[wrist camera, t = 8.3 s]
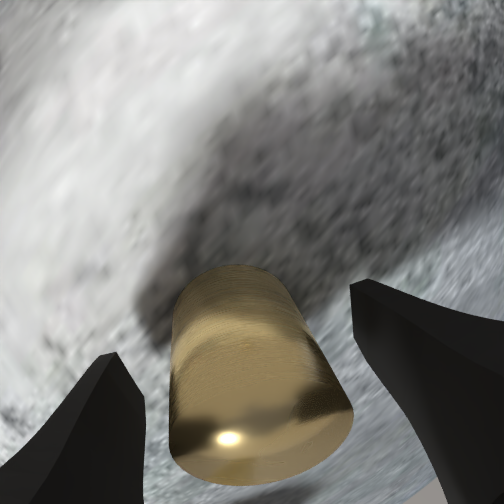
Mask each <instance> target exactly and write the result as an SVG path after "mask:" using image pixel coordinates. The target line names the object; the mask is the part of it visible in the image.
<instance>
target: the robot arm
mask: <svg viewBox="0 0 504 504" xmlns="http://www.w3.org/2000/svg"><path fill="white" fill-rule="evenodd" d="M349 286H350V297H351V308H352V321H353V336H354V339H355V341H356V343H357V344H358V346H359V348H360V350H361V352H362V354H363V356H364V357H365V359H366V361H367V363H368V364H369V365H370V367H371V368H372V370H373V371H374V372H375V374H376V375H377V376H378V378H379V379H380V380H381V382H382V383H383V385H384V386H385V387H386V389H387V390H388V391H389V393H390V394H391V395H392V397H393V398H394V399H395V401H396V402H397V404H398V405H399V406H400V408H401V409H402V410H403V412H404V413H405V415H406V417H407V418H408V420H409V421H410V423H411V425H412V426H413V428H414V430H415V432H416V434H417V436H418V438H419V439H420V441H421V443H422V445H423V447H424V449H425V451H426V453H427V455H428V457H429V459H430V462H431V464H432V466H433V468H434V470H435V472H436V475H437V477H438V479H439V482H440V484H441V486H442V489H443V491H444V494H445V496H446V499H447V502H448V504H504V321H498V320H493V319H488V318H483V317H479V316H474V315H470V314H466V313H463V312H459V311H456V310H452V309H449V308H446V307H443V306H440V305H437V304H434V303H431V302H428V301H426V300H423V299H420V298H417V297H415V296H412V295H410V294H407V293H405V292H402V291H399V290H397V289H394V288H392V287H389V286H387V285H384V284H382V283H379V282H376V281H373V280H370V279H365V280H362V281H359V282H356V283H353V284H350V285H349ZM145 435H146V414H145V400H144V396H143V394H142V393H141V391H140V390H139V388H138V386H137V385H136V383H135V382H134V380H133V379H132V377H131V375H130V374H129V372H128V371H127V369H126V367H125V366H124V364H123V362H122V361H121V359H120V357H119V356H118V354H117V352H113V353H109V354H104V355H100V356H99V357H98V358H97V359H96V360H95V361H94V362H93V363H92V365H91V366H90V367H89V368H88V369H87V371H86V372H85V373H84V374H83V376H82V377H81V378H80V380H79V381H78V382H77V384H76V385H75V386H74V387H73V389H72V390H71V391H70V393H69V394H68V395H67V397H66V398H65V399H64V400H63V402H62V403H61V404H60V405H59V407H58V408H57V409H56V410H55V412H54V413H53V414H52V415H51V416H50V418H49V419H48V420H47V421H46V423H45V424H44V425H43V426H42V427H41V429H40V430H39V431H38V432H37V433H36V434H35V435H34V436H33V437H32V438H31V439H30V440H29V441H28V443H27V444H26V445H25V446H24V447H23V448H22V449H21V450H20V451H19V452H17V453H16V454H15V455H14V456H13V457H12V458H11V459H9V460H8V461H7V462H6V463H5V464H4V465H3V466H1V467H0V504H144V500H143V470H144V452H145Z"/></svg>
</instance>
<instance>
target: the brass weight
mask: <svg viewBox="0 0 504 504" xmlns="http://www.w3.org/2000/svg"><path fill="white" fill-rule="evenodd" d="M353 418H354V413H353V407H352V405H351V403H350V401H349V399H348V397H347V395H346V394H345V392H344V390H343V388H342V386H341V385H340V383H339V381H338V379H337V377H336V376H335V374H334V372H333V370H332V368H331V367H330V365H329V363H328V361H327V360H326V358H325V356H324V354H323V352H322V351H321V349H320V347H319V345H318V344H317V342H316V340H315V338H314V336H313V335H312V333H311V331H310V329H309V328H308V326H307V324H306V322H305V321H304V319H303V317H302V315H301V313H300V312H299V310H298V308H297V306H296V305H295V303H294V301H293V299H292V298H291V296H290V294H289V292H288V291H287V289H286V288H285V286H284V285H283V284H282V283H281V282H280V281H279V280H278V279H277V278H276V277H275V276H273V275H272V274H270V273H268V272H267V271H265V270H262V269H260V268H256V267H253V266H247V265H227V266H222V267H218V268H214V269H212V270H209V271H207V272H205V273H203V274H201V275H199V276H198V277H196V278H195V279H194V280H192V281H191V282H190V283H189V284H188V285H187V286H186V287H185V288H184V290H183V291H182V292H181V294H180V295H179V297H178V299H177V301H176V304H175V307H174V312H173V323H172V340H171V360H170V389H169V449H170V453H171V455H172V458H173V459H174V461H175V462H176V463H177V464H178V465H179V466H180V467H181V468H182V469H183V470H184V471H186V472H187V473H189V474H191V475H193V476H195V477H197V478H199V479H202V480H205V481H208V482H212V483H216V484H222V485H232V486H249V485H259V484H266V483H271V482H276V481H280V480H283V479H286V478H289V477H292V476H295V475H297V474H300V473H302V472H304V471H306V470H308V469H310V468H312V467H314V466H316V465H317V464H319V463H320V462H322V461H323V460H325V459H326V458H327V457H329V456H330V455H331V454H332V453H333V452H334V451H335V450H336V449H338V448H339V446H340V445H341V444H342V443H343V442H344V440H345V439H346V437H347V436H348V434H349V432H350V430H351V428H352V424H353Z"/></svg>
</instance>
